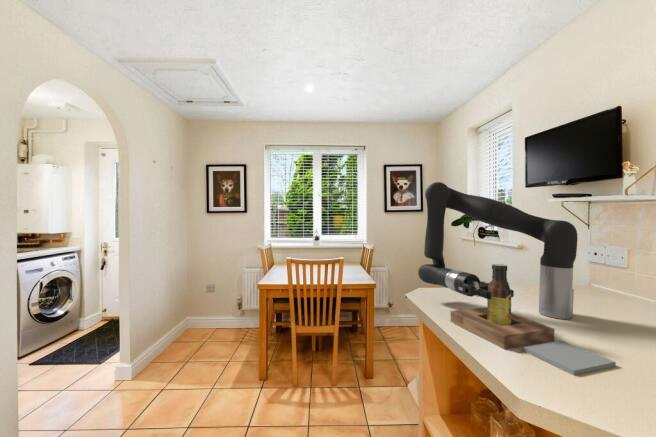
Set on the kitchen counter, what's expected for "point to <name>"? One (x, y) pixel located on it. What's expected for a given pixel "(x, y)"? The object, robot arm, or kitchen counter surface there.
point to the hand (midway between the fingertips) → (501, 295)
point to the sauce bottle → (499, 297)
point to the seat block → (503, 329)
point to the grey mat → (569, 357)
